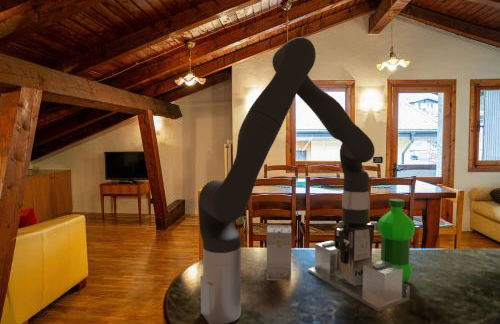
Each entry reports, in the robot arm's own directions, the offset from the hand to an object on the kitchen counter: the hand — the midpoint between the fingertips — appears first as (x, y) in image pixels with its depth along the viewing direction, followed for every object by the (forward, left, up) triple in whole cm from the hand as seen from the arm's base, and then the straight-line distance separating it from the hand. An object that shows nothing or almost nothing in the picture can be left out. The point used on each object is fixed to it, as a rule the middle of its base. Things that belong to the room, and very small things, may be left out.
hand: (353, 260), depth 97 cm
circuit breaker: (-14, +19, -8) cm, 25 cm away
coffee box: (0, 0, -6) cm, 6 cm away
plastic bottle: (+13, -4, -8) cm, 16 cm away
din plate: (0, 0, -7) cm, 7 cm away
